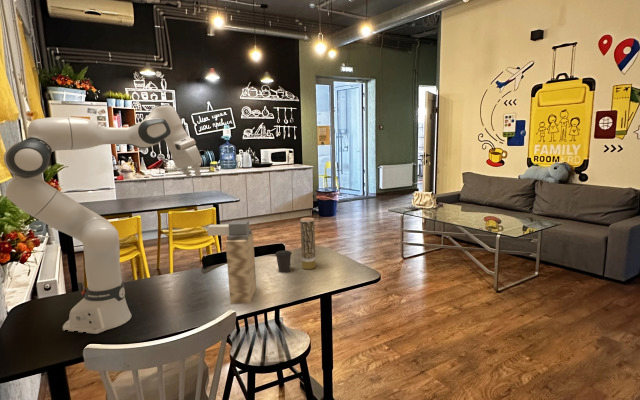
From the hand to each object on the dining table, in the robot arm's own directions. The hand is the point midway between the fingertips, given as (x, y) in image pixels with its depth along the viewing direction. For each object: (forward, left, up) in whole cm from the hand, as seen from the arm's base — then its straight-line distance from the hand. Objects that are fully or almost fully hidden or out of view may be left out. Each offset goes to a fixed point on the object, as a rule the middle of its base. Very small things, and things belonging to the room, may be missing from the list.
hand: (194, 176), depth 158 cm
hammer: (+14, -4, -25) cm, 29 cm away
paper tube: (+44, +28, -51) cm, 73 cm away
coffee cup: (+32, +24, -51) cm, 65 cm away
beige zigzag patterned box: (+18, -4, -51) cm, 54 cm away
